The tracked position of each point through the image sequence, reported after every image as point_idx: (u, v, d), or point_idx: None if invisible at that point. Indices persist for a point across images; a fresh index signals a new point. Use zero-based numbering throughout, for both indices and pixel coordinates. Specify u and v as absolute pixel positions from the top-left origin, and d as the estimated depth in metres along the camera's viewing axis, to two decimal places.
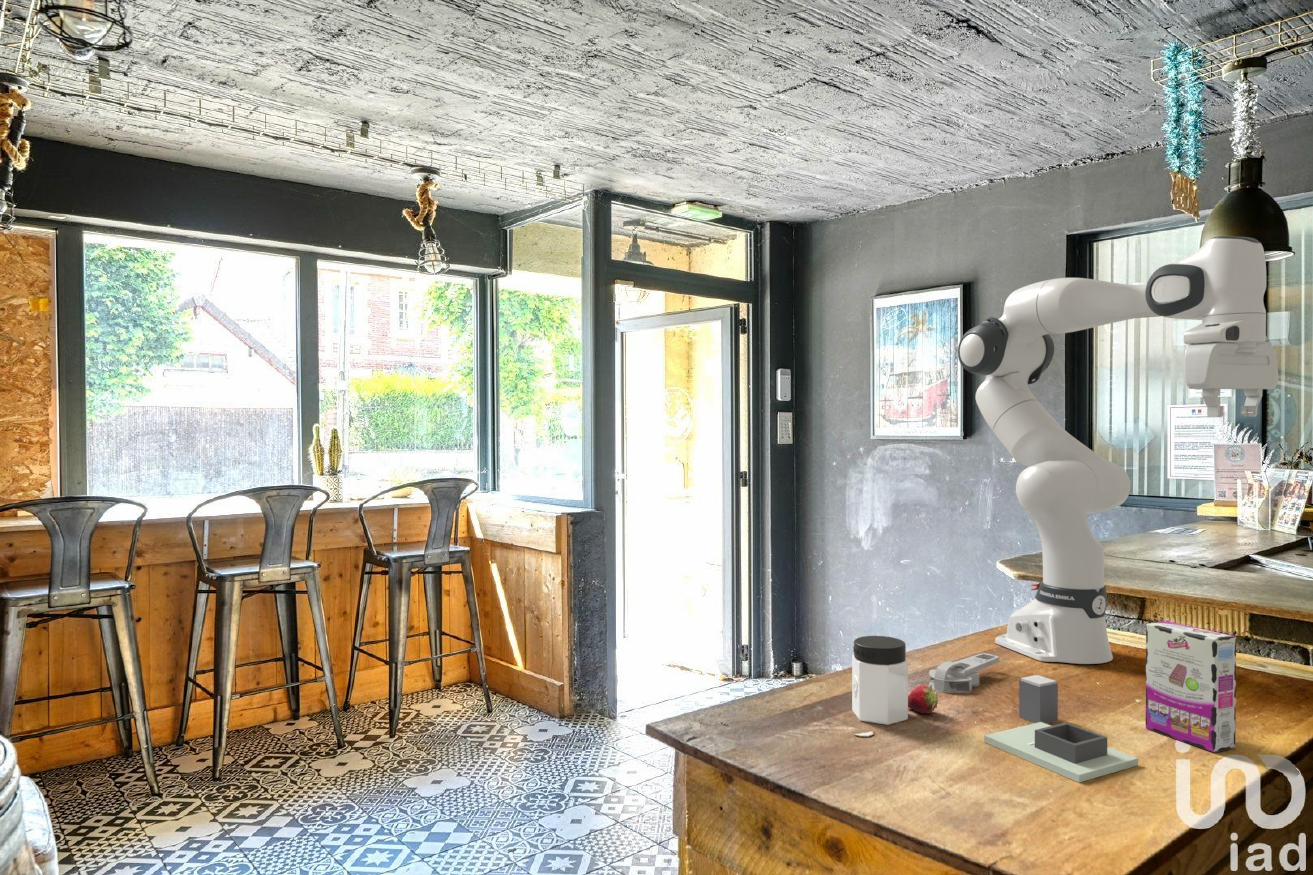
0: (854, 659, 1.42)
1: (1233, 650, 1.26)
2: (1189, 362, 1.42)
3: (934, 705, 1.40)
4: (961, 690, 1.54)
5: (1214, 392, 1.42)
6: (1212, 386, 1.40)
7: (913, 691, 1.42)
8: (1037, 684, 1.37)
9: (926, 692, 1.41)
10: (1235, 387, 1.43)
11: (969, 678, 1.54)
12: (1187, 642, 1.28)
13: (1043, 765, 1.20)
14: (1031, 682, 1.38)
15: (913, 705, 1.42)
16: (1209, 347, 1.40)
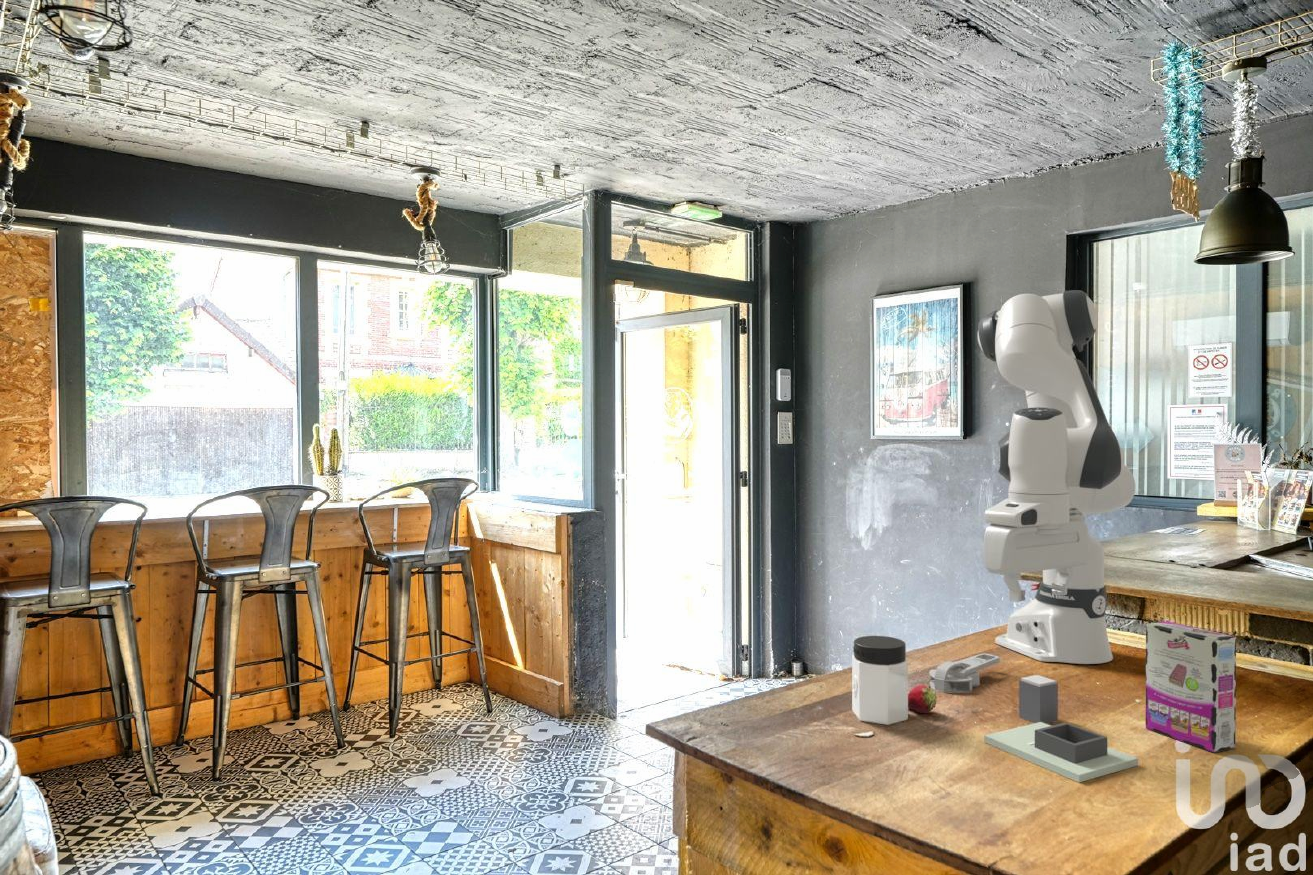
0: (854, 659, 1.42)
1: (1233, 650, 1.26)
2: (987, 545, 1.35)
3: (933, 705, 1.41)
4: (961, 690, 1.54)
5: (1013, 577, 1.35)
6: (1009, 572, 1.33)
7: (912, 691, 1.43)
8: (1037, 684, 1.37)
9: (925, 692, 1.41)
10: (1037, 570, 1.36)
11: (969, 678, 1.54)
12: (1187, 642, 1.28)
13: (1043, 765, 1.20)
14: (1031, 682, 1.38)
15: (912, 705, 1.42)
16: (1005, 532, 1.33)
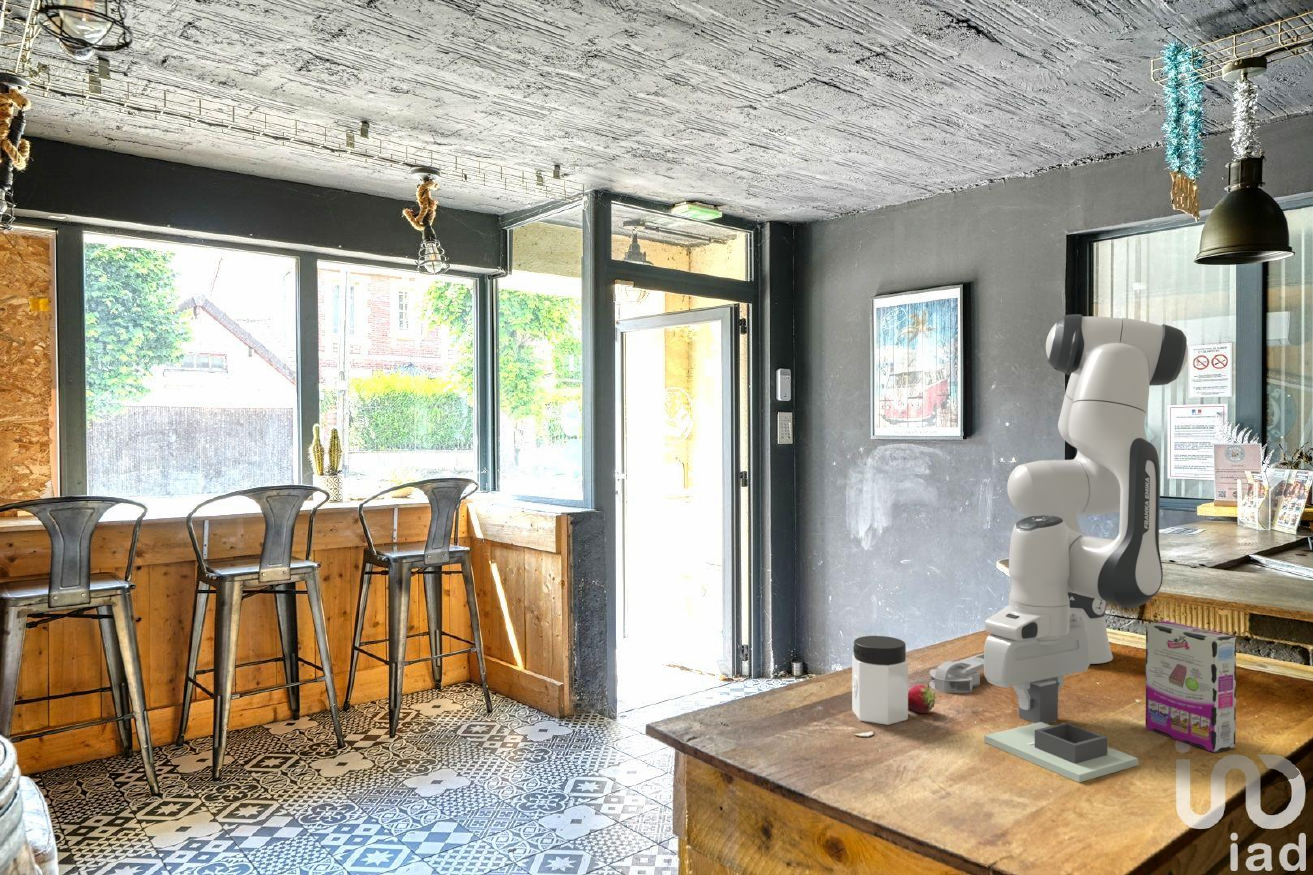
0: (854, 659, 1.42)
1: (1233, 650, 1.26)
2: (987, 656, 1.36)
3: (931, 704, 1.41)
4: (961, 690, 1.54)
5: (1023, 686, 1.36)
6: (1009, 685, 1.34)
7: (910, 690, 1.43)
8: (1037, 684, 1.37)
9: (923, 691, 1.41)
10: (1037, 680, 1.37)
11: (969, 678, 1.54)
12: (1187, 642, 1.28)
13: (1043, 765, 1.20)
14: (1031, 682, 1.38)
15: (910, 704, 1.42)
16: (1005, 645, 1.33)
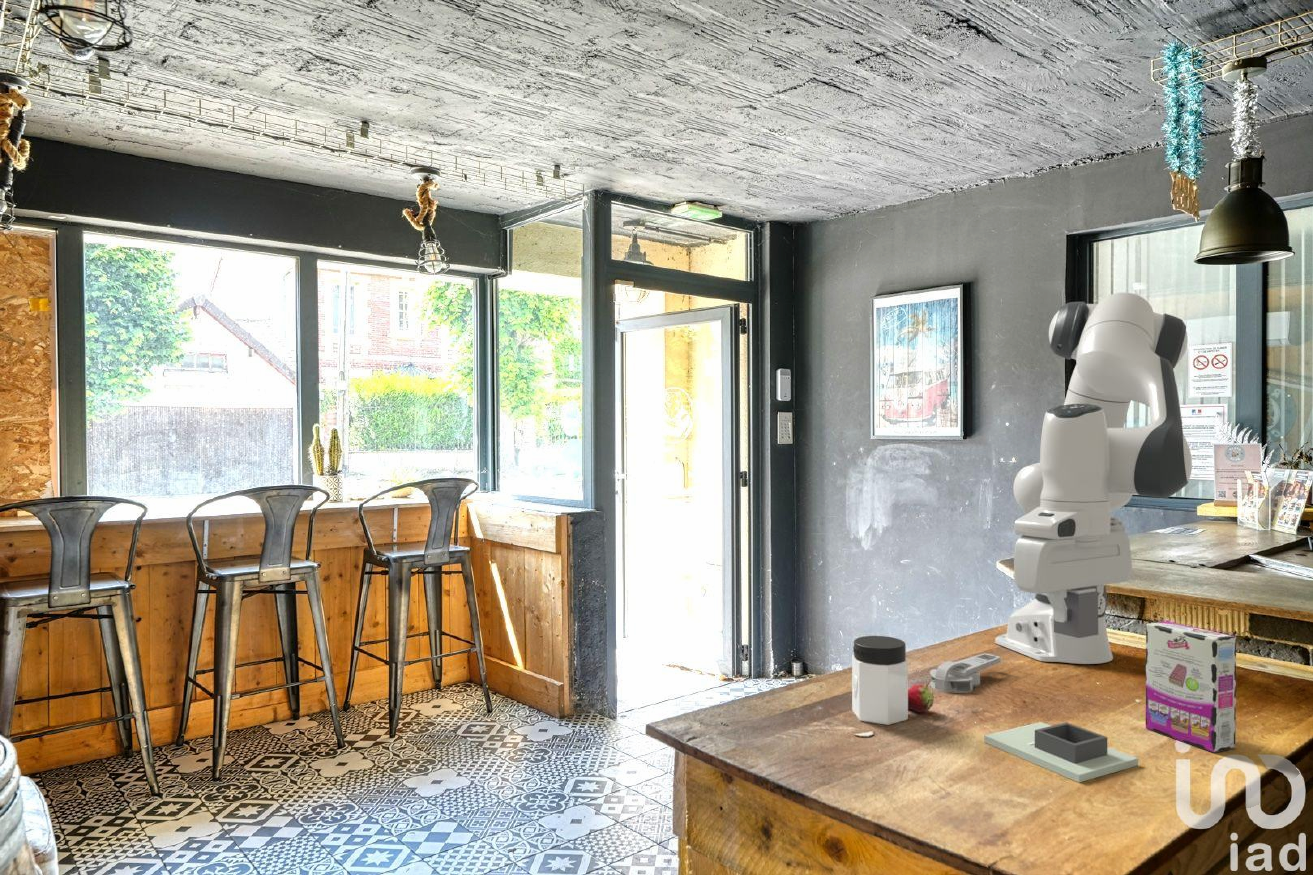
0: (854, 659, 1.42)
1: (1233, 650, 1.26)
2: (1018, 560, 1.19)
3: (930, 704, 1.41)
4: (962, 690, 1.54)
5: (1059, 594, 1.20)
6: (1044, 591, 1.17)
7: (909, 690, 1.43)
8: (1075, 591, 1.21)
9: (922, 691, 1.41)
10: (1075, 587, 1.20)
11: (970, 678, 1.54)
12: (1187, 642, 1.28)
13: (1043, 765, 1.20)
14: (1068, 590, 1.22)
15: (909, 704, 1.42)
16: (1040, 545, 1.17)
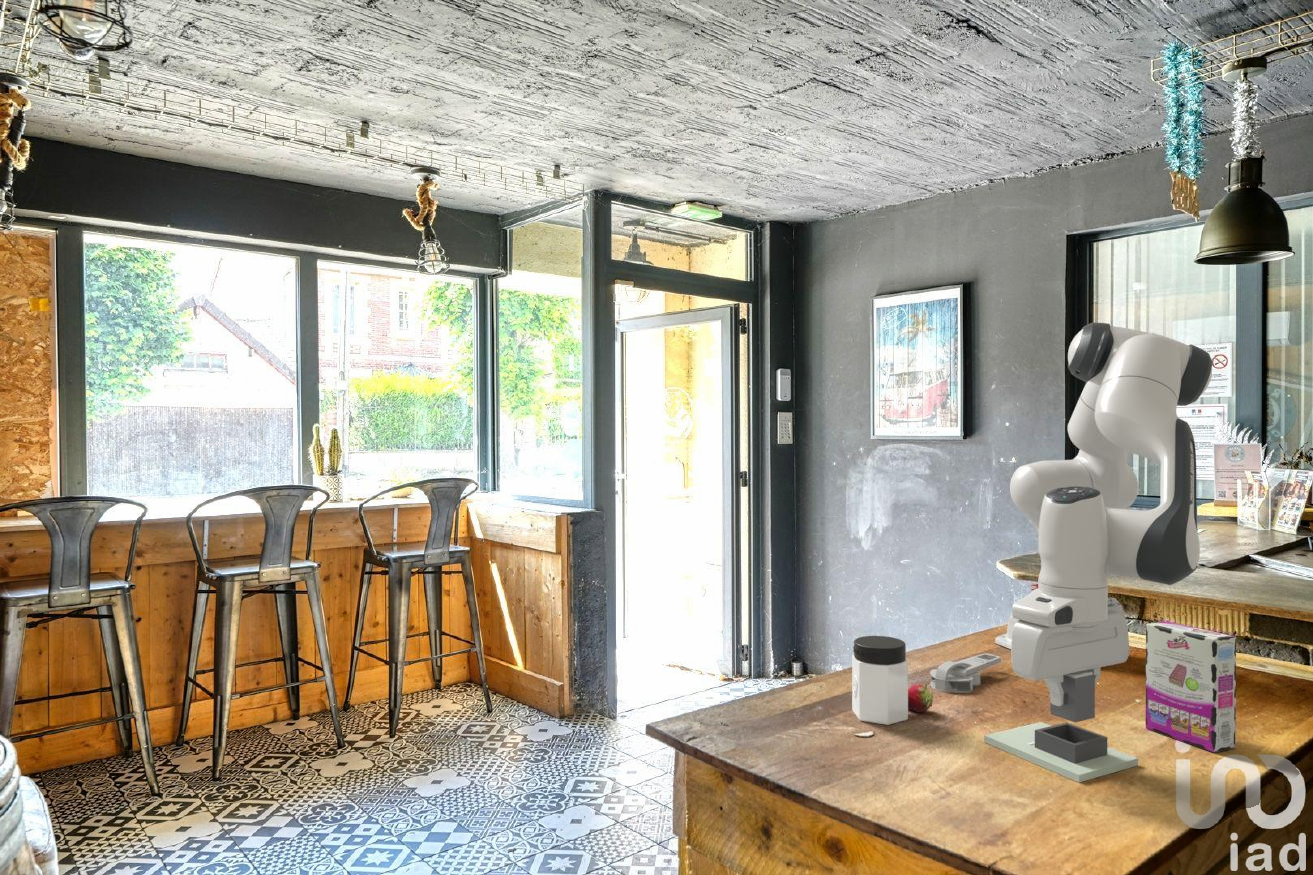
0: (854, 659, 1.42)
1: (1233, 650, 1.26)
2: (1015, 645, 1.20)
3: (929, 704, 1.41)
4: (962, 690, 1.54)
5: (1055, 679, 1.20)
6: (1040, 678, 1.18)
7: (908, 690, 1.43)
8: (1072, 676, 1.21)
9: (921, 691, 1.42)
10: (1072, 672, 1.21)
11: (970, 678, 1.54)
12: (1187, 642, 1.28)
13: (1043, 765, 1.20)
14: None
15: (908, 704, 1.42)
16: (1037, 632, 1.17)
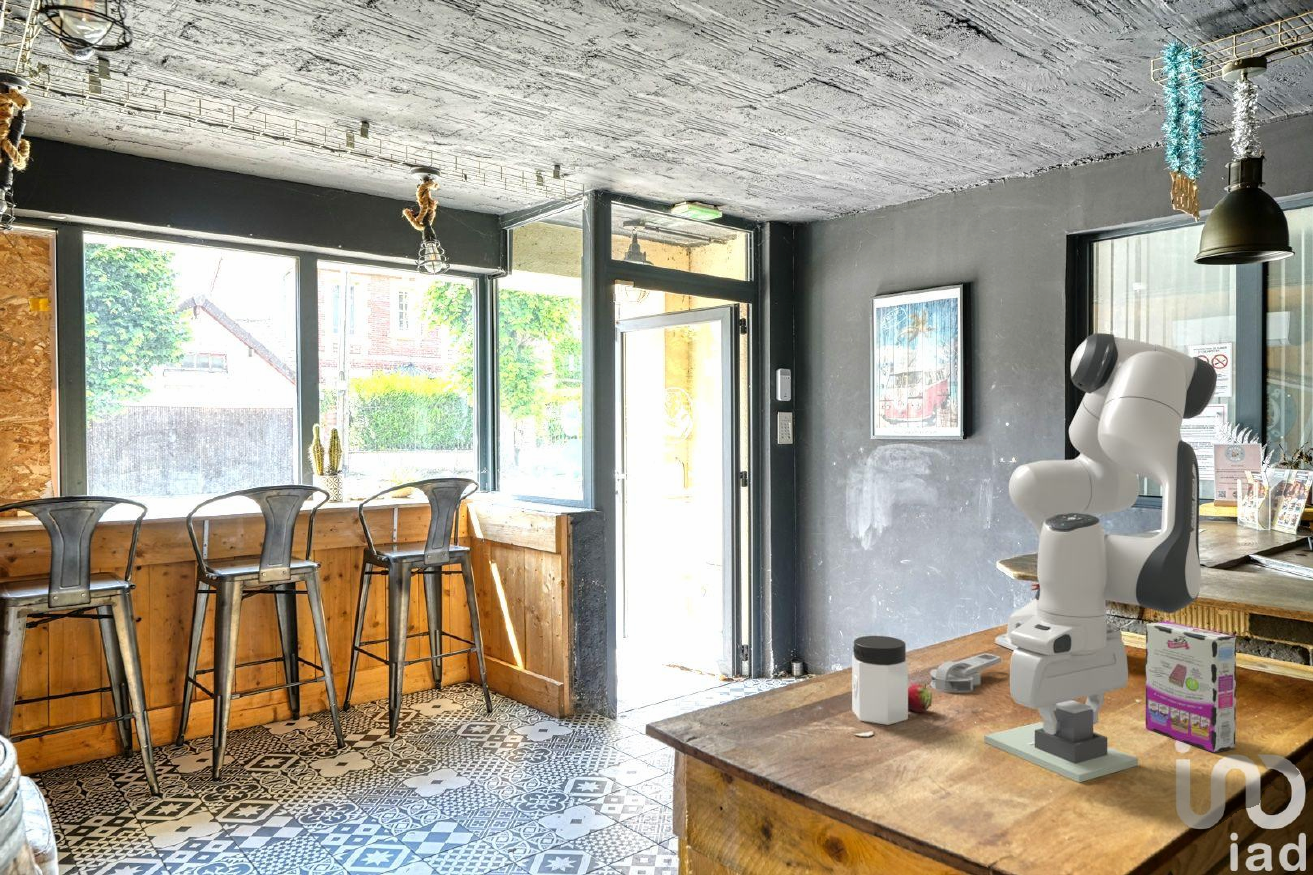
0: (854, 659, 1.42)
1: (1233, 650, 1.26)
2: (1014, 673, 1.20)
3: (928, 704, 1.41)
4: (962, 690, 1.54)
5: (1048, 707, 1.20)
6: (1039, 706, 1.18)
7: None
8: (1070, 710, 1.21)
9: (920, 691, 1.42)
10: (1070, 699, 1.21)
11: (970, 678, 1.54)
12: (1187, 642, 1.28)
13: (1043, 765, 1.20)
14: (1063, 708, 1.22)
15: None
16: (1035, 660, 1.18)
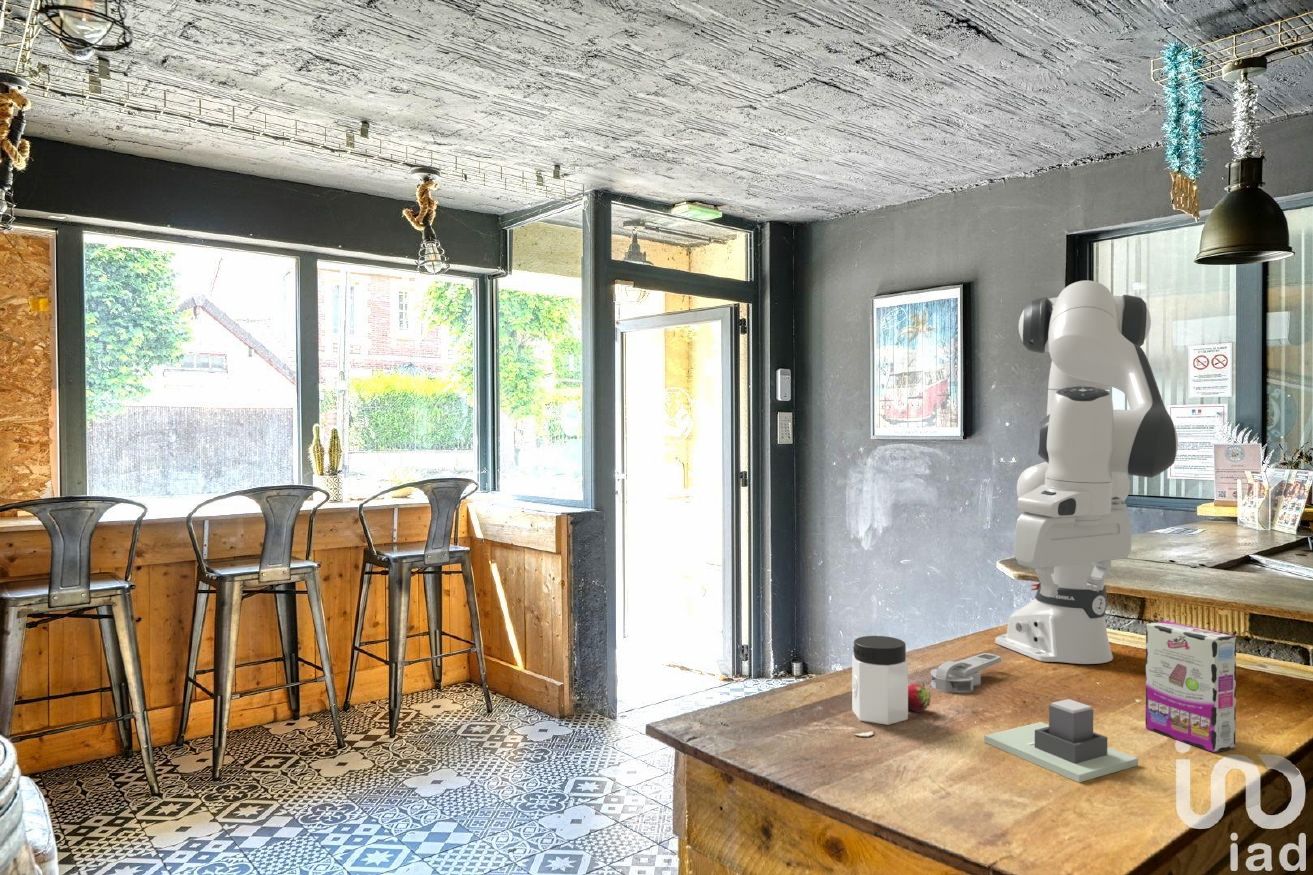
0: (854, 659, 1.42)
1: (1233, 650, 1.26)
2: (1019, 535, 1.25)
3: (927, 703, 1.41)
4: (962, 690, 1.54)
5: (1046, 570, 1.24)
6: (1041, 566, 1.23)
7: None
8: (1070, 710, 1.21)
9: (919, 690, 1.42)
10: (1073, 563, 1.26)
11: (970, 678, 1.54)
12: (1187, 642, 1.28)
13: (1043, 765, 1.20)
14: (1063, 708, 1.22)
15: None
16: (1040, 522, 1.22)
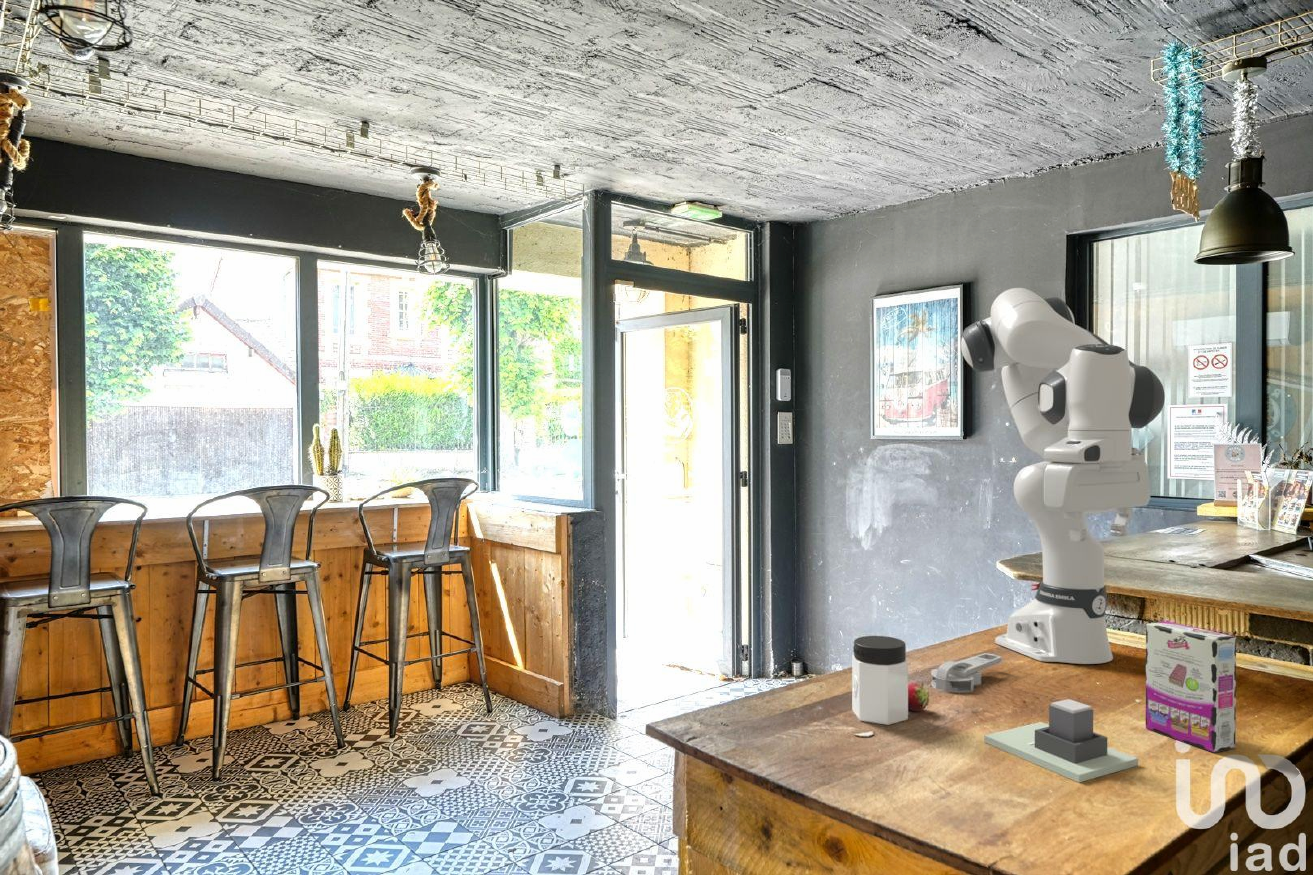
0: (854, 659, 1.42)
1: (1233, 650, 1.26)
2: (1048, 483, 1.32)
3: (925, 703, 1.42)
4: (963, 690, 1.54)
5: (1075, 515, 1.32)
6: (1071, 510, 1.30)
7: None
8: (1070, 710, 1.21)
9: (917, 690, 1.42)
10: (1099, 508, 1.33)
11: (971, 678, 1.54)
12: (1187, 642, 1.28)
13: (1043, 765, 1.20)
14: (1063, 708, 1.22)
15: None
16: (1068, 468, 1.30)
